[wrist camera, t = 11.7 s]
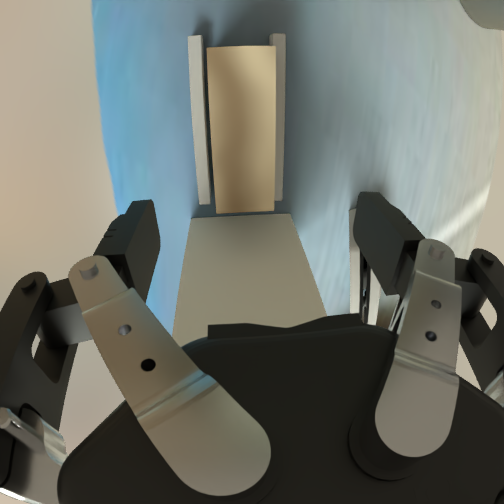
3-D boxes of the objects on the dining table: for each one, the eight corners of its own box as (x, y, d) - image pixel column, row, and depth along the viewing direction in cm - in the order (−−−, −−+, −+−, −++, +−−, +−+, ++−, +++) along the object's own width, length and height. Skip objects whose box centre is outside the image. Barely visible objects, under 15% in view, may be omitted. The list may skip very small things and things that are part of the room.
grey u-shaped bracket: (295, 36, 24) (421, 3, 6) (287, 247, 39) (330, 401, 22) (176, 40, 24) (76, 1, 6) (195, 252, 39) (181, 413, 21)
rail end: (262, 51, 25) (275, 46, 18) (262, 178, 34) (273, 216, 26) (212, 53, 25) (206, 47, 18) (218, 181, 33) (217, 219, 26)
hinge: (379, 291, 46) (381, 341, 39) (352, 291, 48) (349, 341, 40) (383, 201, 36) (392, 248, 29) (348, 202, 38) (348, 249, 31)
